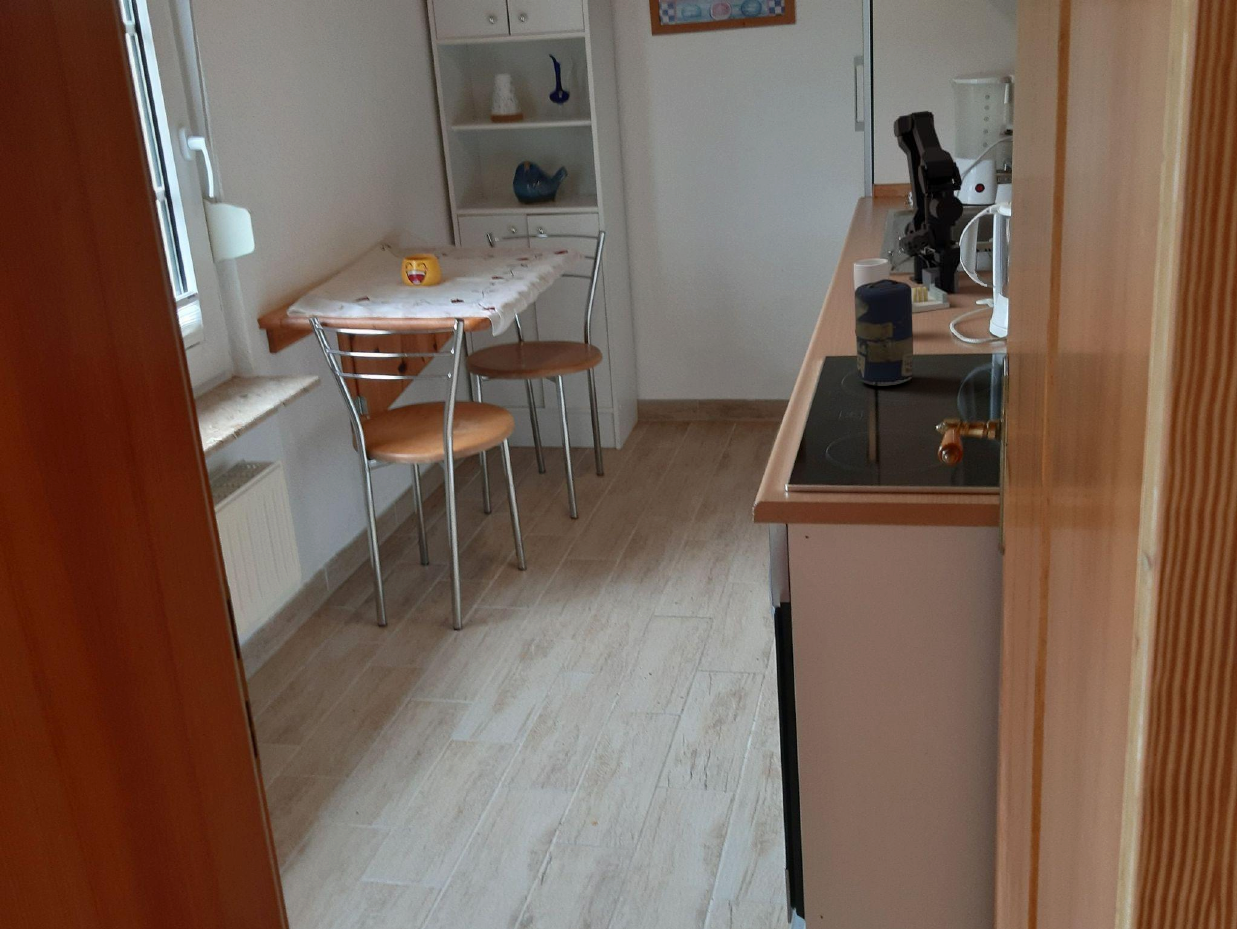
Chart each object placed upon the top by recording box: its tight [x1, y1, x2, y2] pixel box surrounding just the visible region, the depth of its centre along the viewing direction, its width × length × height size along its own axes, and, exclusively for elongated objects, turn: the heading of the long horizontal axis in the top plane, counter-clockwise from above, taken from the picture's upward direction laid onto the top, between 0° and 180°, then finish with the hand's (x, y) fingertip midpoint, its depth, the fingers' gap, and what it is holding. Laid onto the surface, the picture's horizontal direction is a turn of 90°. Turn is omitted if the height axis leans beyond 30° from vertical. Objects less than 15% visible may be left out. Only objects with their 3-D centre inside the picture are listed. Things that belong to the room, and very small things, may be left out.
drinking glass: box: [853, 258, 891, 292], centre depth 234 cm, size 7×7×15 cm
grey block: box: [922, 267, 960, 294], centre depth 266 cm, size 6×6×5 cm
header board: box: [911, 284, 950, 314], centre depth 260 cm, size 18×11×4 cm, turn 5°
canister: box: [854, 278, 915, 383], centre depth 204 cm, size 10×10×18 cm
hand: (940, 287), depth 267 cm, fingers open, 5 cm apart
